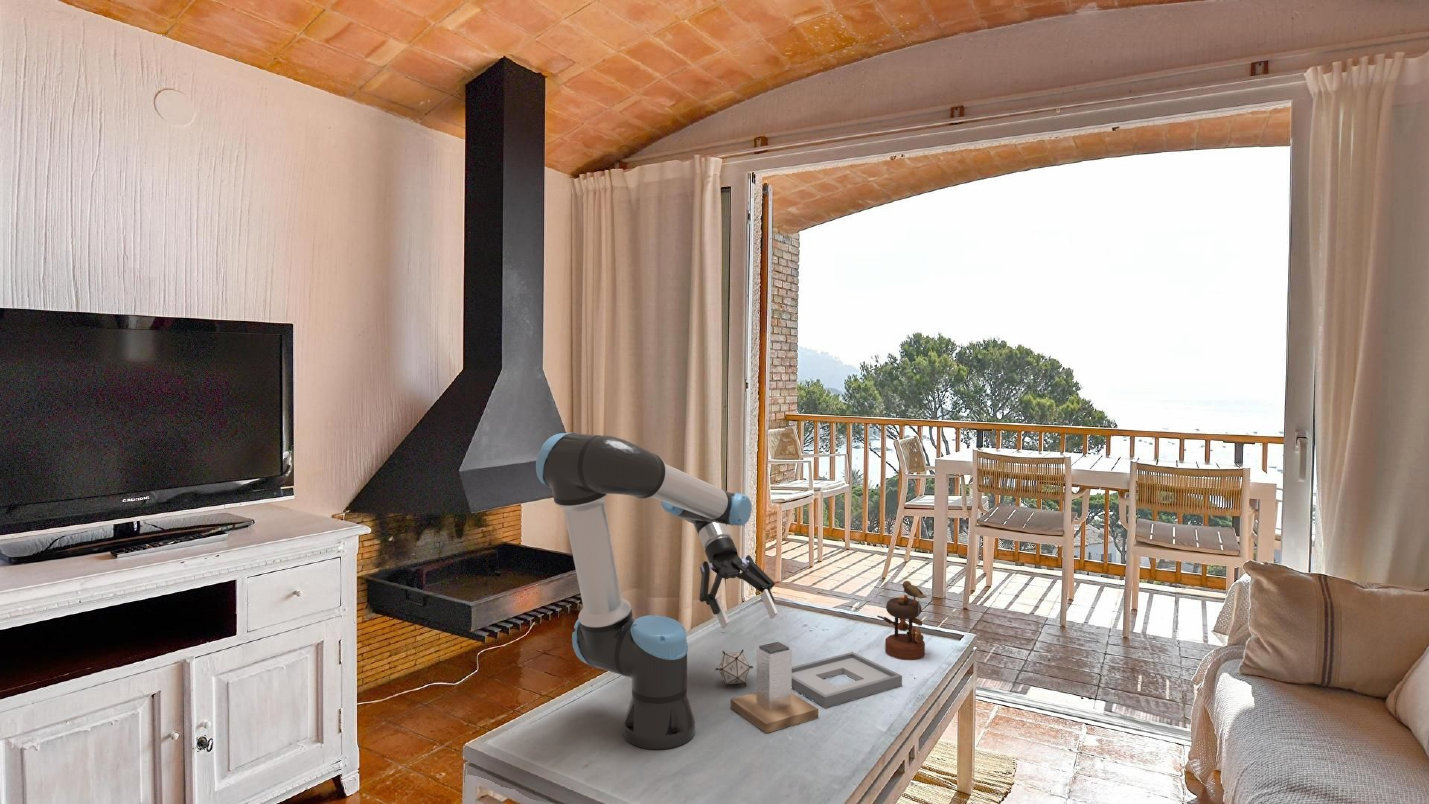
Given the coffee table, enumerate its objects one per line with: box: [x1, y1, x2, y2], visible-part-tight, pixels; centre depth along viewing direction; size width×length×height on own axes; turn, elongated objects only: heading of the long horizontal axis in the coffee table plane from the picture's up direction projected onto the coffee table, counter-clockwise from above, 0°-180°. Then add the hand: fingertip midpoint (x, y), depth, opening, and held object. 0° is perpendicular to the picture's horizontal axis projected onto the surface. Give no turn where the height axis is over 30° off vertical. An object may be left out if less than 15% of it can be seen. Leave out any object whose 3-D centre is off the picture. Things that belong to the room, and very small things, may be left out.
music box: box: [876, 580, 928, 661], centre depth 205 cm, size 15×11×20 cm
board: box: [730, 692, 819, 734], centre depth 169 cm, size 14×14×2 cm
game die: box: [715, 649, 754, 688], centre depth 184 cm, size 9×8×10 cm
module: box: [755, 641, 793, 711], centre depth 168 cm, size 6×5×13 cm
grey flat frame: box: [791, 651, 903, 709], centre depth 185 cm, size 24×18×2 cm
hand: (750, 620), depth 177 cm, fingers open, 13 cm apart
